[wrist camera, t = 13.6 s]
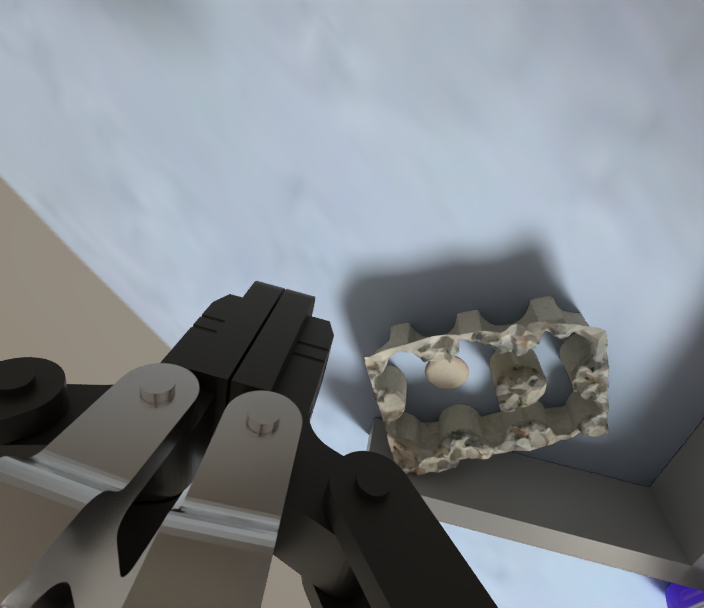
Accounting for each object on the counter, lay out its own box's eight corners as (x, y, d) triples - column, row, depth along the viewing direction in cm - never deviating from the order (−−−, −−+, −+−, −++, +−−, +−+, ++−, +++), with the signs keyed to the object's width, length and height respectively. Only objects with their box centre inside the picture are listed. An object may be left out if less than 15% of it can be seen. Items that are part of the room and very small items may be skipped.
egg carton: (393, 424, 26) (387, 480, 22) (365, 314, 23) (352, 360, 19) (590, 409, 23) (619, 471, 20) (589, 283, 20) (624, 329, 16)
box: (531, -118, 14) (573, -193, 10) (1099, -3, 13) (1381, -35, 9) (369, 435, 26) (358, 500, 22) (661, 511, 25) (704, 591, 21)
